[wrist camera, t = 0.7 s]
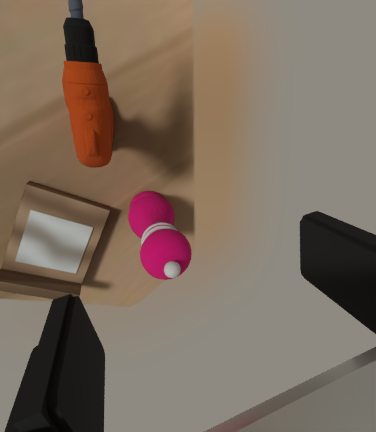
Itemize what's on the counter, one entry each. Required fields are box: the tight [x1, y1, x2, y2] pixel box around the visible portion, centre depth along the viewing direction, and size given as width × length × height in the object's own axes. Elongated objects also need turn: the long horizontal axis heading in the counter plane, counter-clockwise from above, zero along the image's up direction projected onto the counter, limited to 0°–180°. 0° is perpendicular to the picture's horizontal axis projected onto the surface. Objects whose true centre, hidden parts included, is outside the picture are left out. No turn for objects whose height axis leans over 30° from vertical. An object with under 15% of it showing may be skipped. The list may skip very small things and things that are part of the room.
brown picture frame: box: [0, 181, 110, 299], centre depth 39 cm, size 16×12×5 cm
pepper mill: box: [128, 191, 191, 280], centre depth 34 cm, size 7×7×20 cm
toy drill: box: [62, 0, 114, 167], centre depth 27 cm, size 5×19×15 cm, turn 179°
